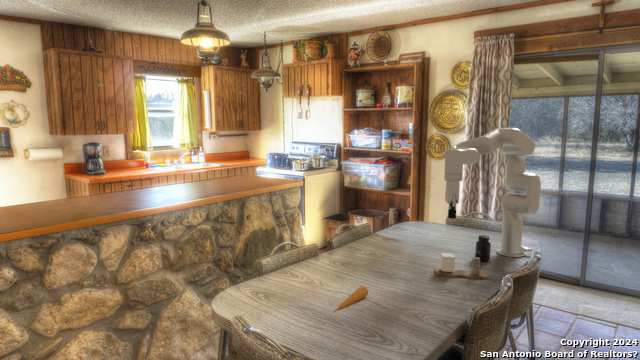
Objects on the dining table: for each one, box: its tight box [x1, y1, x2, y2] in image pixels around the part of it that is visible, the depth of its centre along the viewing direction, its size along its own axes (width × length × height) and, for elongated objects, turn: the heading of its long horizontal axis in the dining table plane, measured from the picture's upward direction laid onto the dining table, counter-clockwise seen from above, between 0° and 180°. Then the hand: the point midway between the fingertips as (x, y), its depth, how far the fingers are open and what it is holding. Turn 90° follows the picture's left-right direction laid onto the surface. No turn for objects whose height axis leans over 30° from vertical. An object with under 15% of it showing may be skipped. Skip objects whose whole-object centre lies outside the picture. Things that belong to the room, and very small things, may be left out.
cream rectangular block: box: [440, 252, 456, 272], centre depth 181 cm, size 5×5×7 cm
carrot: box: [334, 285, 369, 312], centre depth 151 cm, size 20×4×4 cm, turn 139°
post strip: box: [434, 256, 490, 280], centre depth 180 cm, size 22×7×8 cm, turn 79°
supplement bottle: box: [474, 234, 492, 263], centre depth 199 cm, size 7×7×12 cm
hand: (451, 218), depth 180 cm, fingers closed
